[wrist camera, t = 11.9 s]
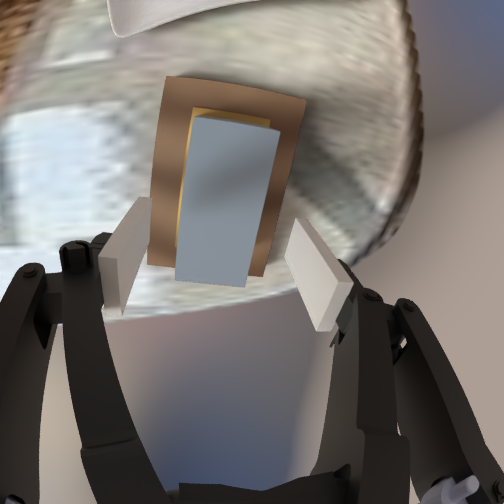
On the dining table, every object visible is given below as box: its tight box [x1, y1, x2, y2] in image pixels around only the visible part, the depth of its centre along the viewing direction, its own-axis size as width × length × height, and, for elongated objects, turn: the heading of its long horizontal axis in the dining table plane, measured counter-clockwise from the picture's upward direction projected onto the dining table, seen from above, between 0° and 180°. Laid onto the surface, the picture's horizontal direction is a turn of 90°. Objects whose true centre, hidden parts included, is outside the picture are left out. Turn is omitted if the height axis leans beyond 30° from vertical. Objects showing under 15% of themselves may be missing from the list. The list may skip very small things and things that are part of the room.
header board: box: [147, 76, 307, 277], centre depth 23 cm, size 18×12×6 cm, turn 169°
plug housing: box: [175, 115, 280, 287], centre depth 21 cm, size 12×6×6 cm, turn 169°
